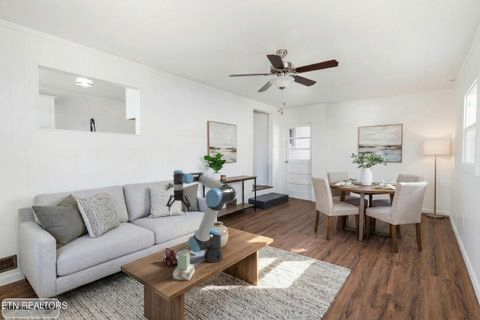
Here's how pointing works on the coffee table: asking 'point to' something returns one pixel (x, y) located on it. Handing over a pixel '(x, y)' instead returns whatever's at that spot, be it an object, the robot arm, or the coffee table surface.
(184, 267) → the sage green block
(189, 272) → the off-white base block
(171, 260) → the red grape bunch
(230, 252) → the coffee table surface
